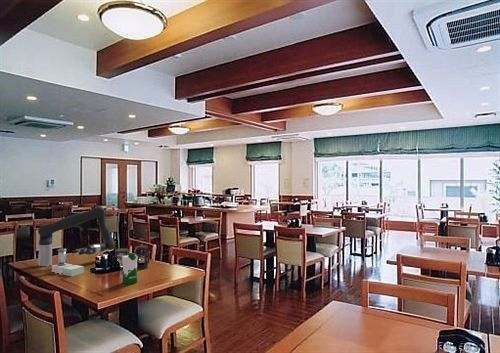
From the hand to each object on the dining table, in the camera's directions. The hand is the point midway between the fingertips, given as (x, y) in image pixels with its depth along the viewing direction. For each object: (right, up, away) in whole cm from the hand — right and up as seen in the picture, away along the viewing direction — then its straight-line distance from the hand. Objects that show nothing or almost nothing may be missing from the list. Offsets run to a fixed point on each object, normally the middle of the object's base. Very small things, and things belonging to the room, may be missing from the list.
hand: (75, 252), depth 277 cm
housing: (-5, -7, -10) cm, 13 cm away
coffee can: (+35, -12, +3) cm, 37 cm away
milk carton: (+56, -12, -38) cm, 69 cm away
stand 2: (+6, -12, -16) cm, 21 cm away
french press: (+52, -12, +1) cm, 54 cm away
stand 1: (-5, -12, -10) cm, 16 cm away
